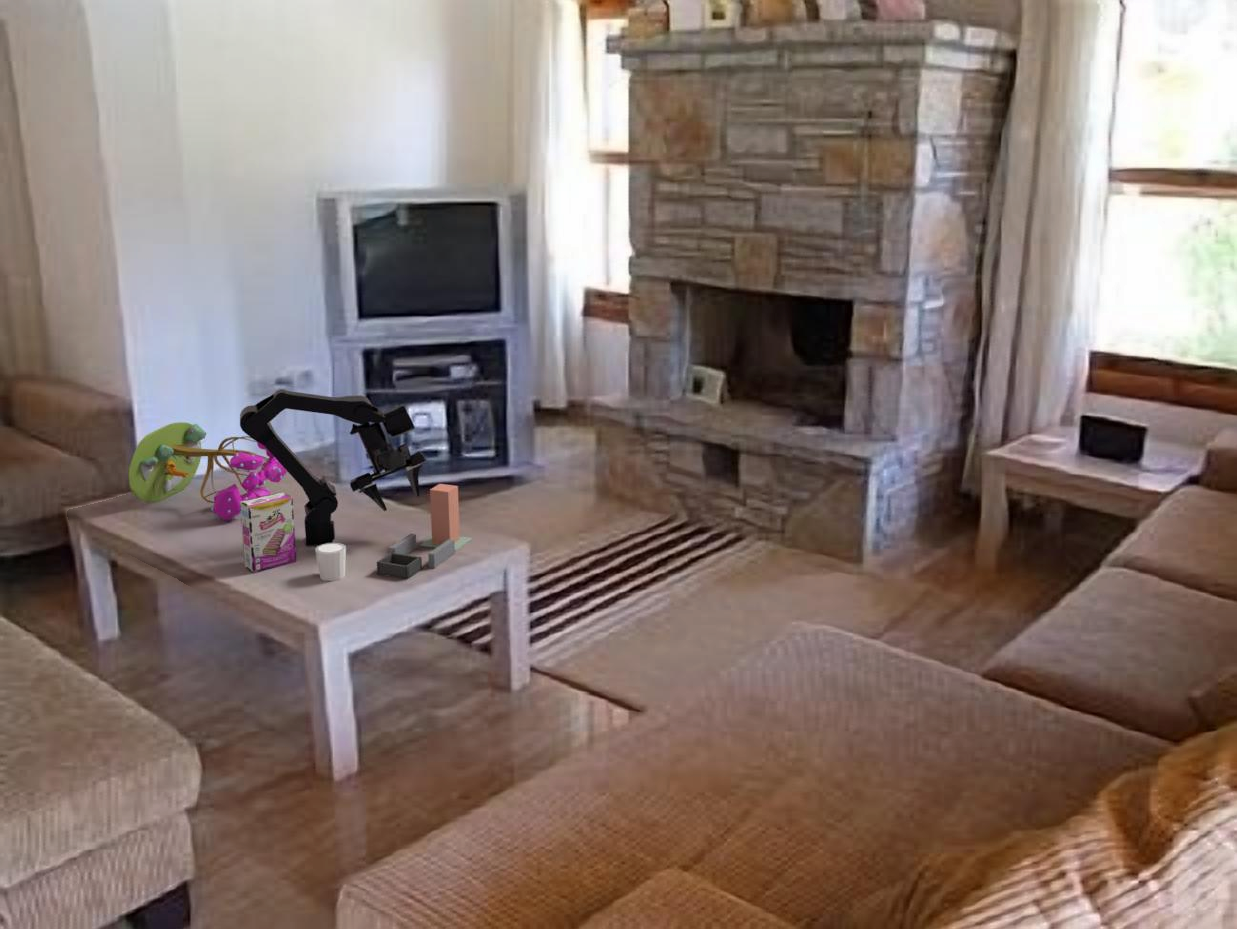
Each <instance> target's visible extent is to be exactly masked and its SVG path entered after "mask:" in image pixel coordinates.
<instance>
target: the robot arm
mask: <svg viewBox="0 0 1237 929" xmlns="http://www.w3.org/2000/svg"><path fill="white" fill-rule="evenodd" d="M286 409H287V410H294V411H300V412H301V411H302V412H309V413H316V414H325V415H333V416H336V417H339V418H341V419H343V420H345V421H349V422H352V427H351V430H350V432H349V434H350V435H351V436H354V435H356V434H358V436H359V438H360V441H361V442H362V444H363V447H364V450H365V451H366V454H365V455H366V458H367V459H369V460H370V461H369V462H370V463H371V465H372V468H373V469H372V471H373V473H370V472H367V473H364V474H362V475H359V476H357V477H355V478H352V479H350V483H349V486H350V489H351V491H352V492H356V491H358V493H359V494H361V493H363V494H364V495H366V496H367V497H369V499H370V500H372V501H373V502H374V503H375V504H376V505H377V506H378V507H379V508H380V509H381V510H382V511H383V512H386V511H387V510H388V508H387V506H386V503H385V502H384V500H383V498H382V496H381V494H380V492H379V490H378V487H377V486H378V484H377V483H374V482H375V481H377V480H380V479H382V478H384V477H385V478H386V477H387V476H389V475H391V474H394V473H396V472H399V471H401V470H404V469H406V471H405V472H404V473H405V475H406V478H407V479H408V482H409V485H410V487H411V489H412V492H413V493H414V495H415V496H416V498H419V497H420V484H419V483H420V482H419V476H420V475H419V474H420V468H422V467H423V466H424V464H423V463H425V462H427V459H426V457H425V455H424V454H423V453H422V452H421V451H418V452H416V453H414V454H411V451H410V449H409V447H408V445H407V444H406V443H403V444H401V445H398V446H397V448H394V447H393V445H392V444H391V443H389V441H388V439H387V436H388V437H389V436H391V438H392V437H393V438H394V439H395V438H397V437H400V436H402V435H404V434H407V433H409V432H411V431H414V430H415V429H416V428H415V425H414V423H413V420H412V418H411V417H410V416H411V415H410V414H409V413H408V411H407V409H406V406H405V404H403V403H401V404H399V405H397V406H396V407H394V408H391V409H390V410H387V411H384V410H382V409H381V408H378V407H376V406H375V405H373V404H372V403H371V401H370V400H369V398H368V397H367V396H364V395H346V396H339V397H337V396H336V397H333V396H326V395H320V394H319V395H318V394H312V393H311V394H310V393H306V392H305V393H304V392H297V391H291V390H286V389H284V388H283V389H281V388H280V389H278V390H276V391H275V392H274V393H273V394H271V395H269V396H267V397H265V398H264V399H262V400H260V401H258V402H257V403H256V404H254V405H247V406H246V407H244V408H243V409H242V410H241V411H240V414H239V426H240V429H241V430H242V432H243V433H245V434H246V435H247V436H249V437H251V438H250V439H251V440H253V441H256V443H257V442H258V443H260V444H262V445H263V446H265V447H266V448H267V449H268V450H269V452H270V453H271V454H272V455H273V456H274V458H276V459H277V460H278V462H279V463H280V464H281V465H282V466H283V467H284V468H285V469H286V470H287V471H288V472H287V473H288V474H289V475H290V476H291V477H292V479H294V481H296V482H297V484H298V485H299V486H300V487H301V488H302V489H303V491H304V493H305V495H306V497H307V498H308V501H307V503H305V505H304V511H305V516H304V520H303V521H304V534H305V541H304V542H305V543H304V546H305V547H306V546H307V547H310V546H311V547H312V546H320V545H322V544H326V543H334V542H333V541H334V540H335V538H336V530H335V528H336V527H335V521H334V520H332V519H333V518H332V514H333V513H335V511H337V508H338V506H339V501H338V498H337V495H338V494H337V491H336V487H335V485H333V484H331V483H330V482H329V481H328V479H327V476H325V475H323V476H322V477H321V478H319V477H317V476H315V475H314V474H313V473H312V472H311V471H310V470H309V468H308V467H307V466H306V465H305V464H304V463H303V462H302V460H301V459H300V458H299V457H298V456H297V455H296V454H295V453H294V452H293V450H291V448H290V447H289V446H288V445H287V444H286V443H285V441H284V440H283V439H282V438H281V437H280V436H279V435H278V434H277V433H276V430H275V428H274V427H273V425H272V423H271V422H272V420H274V419H275V418H276V417H277V416H278V415H279V414H280V413H282V412H283V411H284V410H286ZM357 424H358V425H357ZM381 424H382V425H383V426H384V429H385V431H384V430H383V428H382V426H381ZM385 432H386V433H387V436H386V434H385Z"/></svg>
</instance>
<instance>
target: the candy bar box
mask: <svg viewBox="0 0 1237 929" xmlns="http://www.w3.org/2000/svg"><path fill="white" fill-rule="evenodd" d="M293 500H294V499H293V496H291V495H289V494H287V493H285V492H280V493H279V492H278V493H275V494H270V495H269V496H264V497H260V498H255V499H250V500H246V501H241V502H240V511H241V513H240V520H241V521H240V522H241V533H242V547H243V548H242V550H243V561H244V567H245V568H246V569H247V570H248V571H250V570H251V571H250V572H252V571H253V572H252V573H254V572H255V573H258V572H261V571H264V570H270V569H273V568H276V567H279V566H283V565H288V564H292V563H295V562H297V547H296V532H295V530H296V529H295V519H294V518H295V517H294V514H295V513H294V501H293ZM257 571H258V572H257Z"/></svg>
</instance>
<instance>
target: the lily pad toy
mask: <svg viewBox="0 0 1237 929" xmlns="http://www.w3.org/2000/svg"><path fill="white" fill-rule="evenodd" d="M206 436H207V432H206V431H205V430H204V429H203V428H202V427H201V426H199V424H198V423H194V424H191V423H189V422H182V421H179V422H172V423H169V424H166V425H164V426H161V427H160V428H157V429H155V430H153V431H151V432H148V434H146V435H145V436H144V437H142V439H141V440H140V442H138V445H137V446H136V448H135V451H134V453H133V456H132V459H131V461H130V464H129V466H128V467H129V468H128V472H127V475H128V482H129V489H130V492H131V493H132V494H133V495H134V496H135V497H136V498H137V499H139V500H140V501H143V502H145V503H149V504H150V503H151V504H152V503H159V502H161V501H163V500H165V499H167V498H169V497H172V496H173V494H174V495H176V494H177V492H178V493H179V491H180V492H182V491H184V490H185V489H186V488H187V487H188V486H189V485H190V484H191V483H192V481H193V479H194V477H195V476H196V474H197V471H198V468H199V467H200V464H201V459H203V457H205V459H207V467H206V472H205V475H204V478H203V482H202V483H201V487H200V490H199V494H200V497H201V498H202V499H203V500H204V501H205V502H207V503H212V504H213V506H212V507H211V509H210V511H212V512H213V513H214V517H215V518H217V517H220V518H221V519H222V520H224V521H226V522H227V521H228V522H229V521H230V520H232V519H234V518H236V517H237V516H239V514H240V515H241V511H240V502H241V501H246V500H250V499H255V498H260V497H264V496H269V495H272V492H271V490H269V489H268V488H267V487H264V486H265V484H266V483H267V480H269V482H271V483H280V482H281V480H282V479H283V478H284V476H285V475H286V474H287V473H288V471H287V470H286V469H285V468H284V467H283V466H282V465H281V464H280V463H279V462H278V460H277V459H276V458H275V457H274V456H273V455H272V454H271V453H270V452H269V450H268V449H267V448H266V447H265V446H263V445H262V444H260V443H258V442H257V441H255V440H254V439H252V438H251V437H250V436H248V435H247V436H230V437H226V438H224V439H223V440H221V442H220V444H219V445H218V448H217V449H214V448H213V449H212V448H208V449H207V448H202V442H201V440H203V439H206ZM206 440H207V439H206ZM206 440H204V442H205V441H206ZM238 440H247V441H250V442H254V443H256V444H257V445H256V446H257V447H258V448H259V449H260V450H264V451H265V455H266V456H267V457H268V458H267V457H266V456H263V455H260V454H257V453H255V452H251V451H247V450H242V449H235V446H234V443H235V441H238ZM228 441H229V442H228ZM226 442H227V443H226ZM225 443H226V444H225ZM224 444H225V445H224ZM230 444H232V445H231V446H232V448H231V449H230V448H228V449H227V448H226V447H228V446H230ZM225 448H226V449H225ZM227 456H228V457H231V458H230V460H229V459H228V457H227ZM206 457H207V458H206ZM218 457H222V458H223V460H224V461H225V462H226V464H227V465H228V467H229V468H228V467H226V466H225V465H222V464H221V463H220V461H219V460H218ZM264 461H265V462H264ZM214 463H215V464H216V466H218V467H219V468H220V469H223V470H225V471H227V472H229V473H232V474H234V475H235V476H236V478H237V480H238V482H239V484H240V486H241V488H242V489H244V490H245V492H246V493H243V494H241V493H240V491H239V490H240V489H239V488H238V485H237V484H236V483H234V484H231V485H230V486H228V487H224V488H223V489H218V490H217V491H216V490H215V486H214V466H215V465H214ZM260 467H261V469H260V470H259V471H257V472H256V470H257V469H259V468H260ZM235 468H236V469H235ZM239 472H247V473H248V474H245V473H239ZM240 476H246V477H245V478H244V479H243V481H241V478H240ZM209 477H210V478H211V486H212V489H213V491H214V492H212V493H210V494H208V495H204V490H205V487H206V484H207V481H208V479H209ZM261 486H263V487H261ZM181 490H182V491H181ZM175 493H176V494H175ZM213 494H215V495H214V497H213V500H210V499H207V497H211V496H212V495H213Z"/></svg>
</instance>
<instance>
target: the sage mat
mask: <svg viewBox="0 0 1237 929" xmlns="http://www.w3.org/2000/svg"><path fill="white" fill-rule="evenodd" d="M473 539H474V538H473V537H467V536H460V540H458V541H457V542H455V552H457V551H458V550H460V549H461V548H462V547H464V546H465V545H467V544H468V543H470V542H471V541H472V540H473ZM438 546H440V545H439V544H432V536H430V537H429V538H428V539H426V540H425V541H424V542H422V543H420V544H419V547H427V548H432V547H433V548H432V549H436V548H437V547H438Z"/></svg>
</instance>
